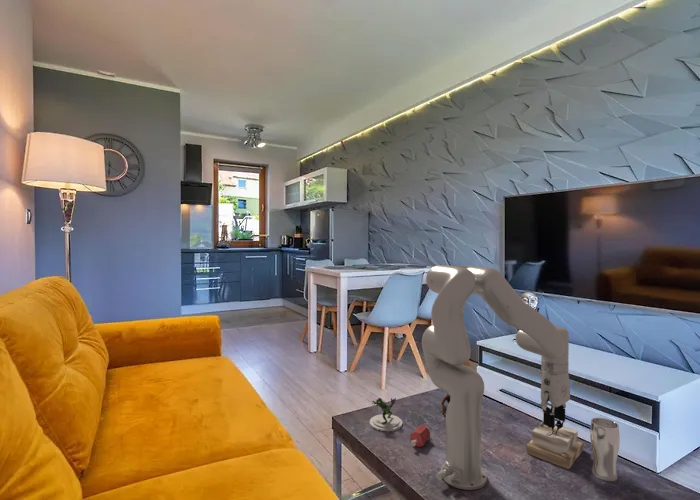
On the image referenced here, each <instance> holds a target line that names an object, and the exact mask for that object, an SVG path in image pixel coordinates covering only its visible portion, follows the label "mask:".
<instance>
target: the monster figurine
mask: <svg viewBox="0 0 700 500" xmlns="http://www.w3.org/2000/svg"><path fill="white" fill-rule="evenodd" d="M396 399H397V398H396V397H395V398H393V399H392V397H390V403H391V404H390V405H389V404H387V403H386V401H384V400H383V399H382V398H381V397H378V399H375V401H374V400H371V405H372V406H375V405H376V406H378V407H379V408H381V411H382V412H383V413H381V414H377V415H374V416H372V417H371V418H370V419H369V426H370V425H371V426H372V427H373V428H375V429H377V430H376V431H378V430H380V431H379V432H382V431H388V432H387V433H389V431H392V432H396V431H398V430H400V429H401V428H402V427H403V420H402V418H400V417H399V416H398V415H394V414H393V412H392V411H391V410H392V408H393V406H394V405H395V403H396ZM371 426H370V427H371ZM372 427H371V428H372ZM373 428H372V429H373ZM375 429H374V430H375Z"/></svg>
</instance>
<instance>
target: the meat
mask: <svg viewBox="0 0 700 500" xmlns="http://www.w3.org/2000/svg"><path fill="white" fill-rule="evenodd" d="M428 440H431V432H430V428H429V427H428V426H426V425H419V426H417V427H416V429H415V430H414V431H413V432H411V433H410V442H411V443H410V444H411V446H412V447H417V448H420V447H423V446H425V444H426V442H427V441H428Z"/></svg>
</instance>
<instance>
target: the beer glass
mask: <svg viewBox="0 0 700 500" xmlns="http://www.w3.org/2000/svg"><path fill="white" fill-rule="evenodd" d="M589 432H590V433H589V436H590V446H591V452H592V456H593V457H592V458H593V462H592V463H593V464H592V468H591V472H592V474H593V476H595V477H596V478H598V479H600V480H602V481H606V482H616V481H617V480H618V473H617V467H616V465H617V459H618V456H619V451H620V445H621V444H620V442H621V441H620V440H621V438H620V426H619V424H618V423H617V422H616V421H614V420H611V419H608V418H604V417H592V419H590V430H589Z"/></svg>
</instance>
